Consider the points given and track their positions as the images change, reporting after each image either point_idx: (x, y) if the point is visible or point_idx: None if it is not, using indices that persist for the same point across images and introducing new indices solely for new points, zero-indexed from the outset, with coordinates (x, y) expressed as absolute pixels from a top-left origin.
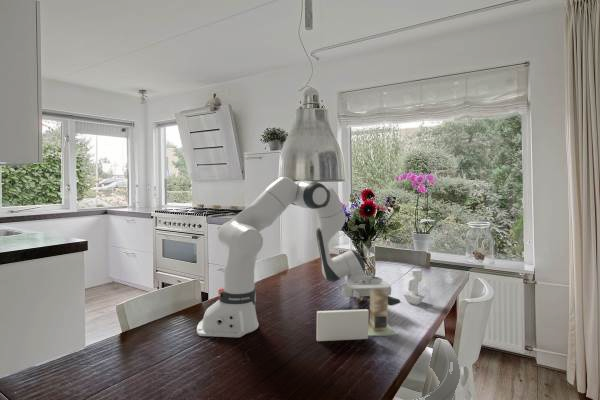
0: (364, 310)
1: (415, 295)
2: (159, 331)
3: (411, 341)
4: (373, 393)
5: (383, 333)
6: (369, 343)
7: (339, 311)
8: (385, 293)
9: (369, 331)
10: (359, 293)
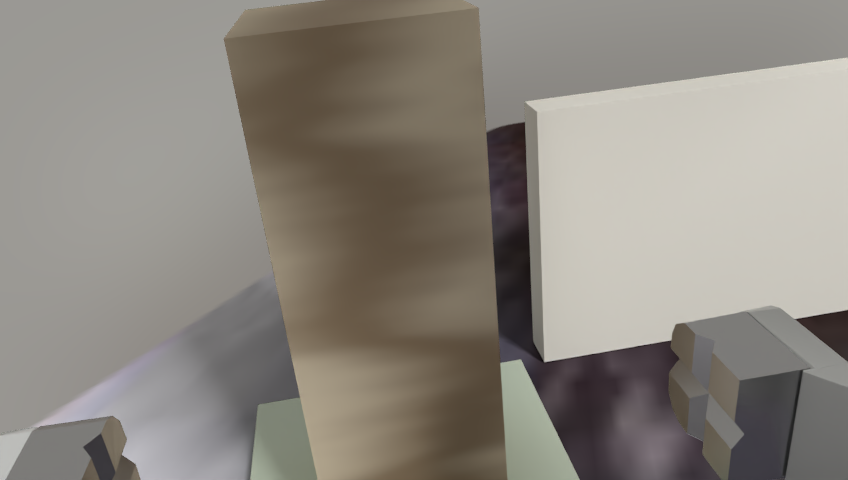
0: (566, 99)
1: None
2: None
3: (190, 354)
4: (522, 123)
5: None
6: (523, 300)
7: (805, 66)
8: (280, 7)
9: (515, 408)
10: (750, 334)
